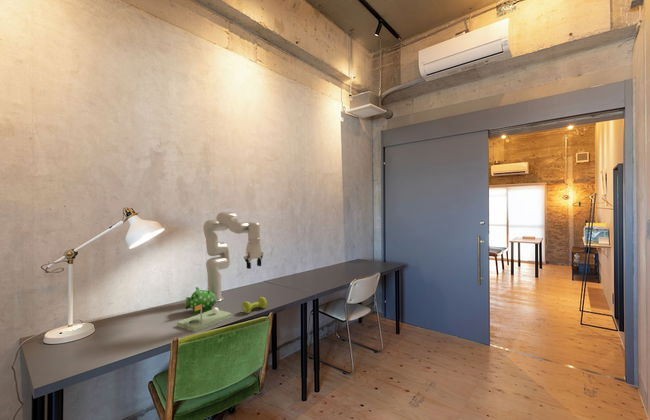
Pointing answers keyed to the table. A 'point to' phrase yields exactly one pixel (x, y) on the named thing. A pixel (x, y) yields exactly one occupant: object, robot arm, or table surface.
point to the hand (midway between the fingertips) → (254, 267)
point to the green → (203, 319)
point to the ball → (215, 310)
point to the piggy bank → (201, 300)
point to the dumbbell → (254, 305)
